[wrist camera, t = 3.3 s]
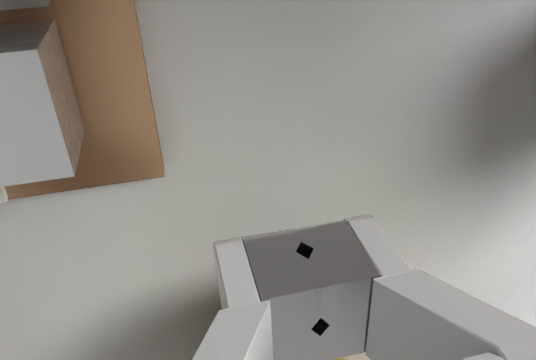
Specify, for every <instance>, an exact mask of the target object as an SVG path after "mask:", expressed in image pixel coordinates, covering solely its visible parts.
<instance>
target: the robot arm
mask: <svg viewBox="0 0 536 360" xmlns="http://www.w3.org/2000/svg"><path fill="white" fill-rule="evenodd" d="M213 249H214V256H215V264H216V272H217V279H218V287H219V294H220V301H221V307H222V310H218V312H217V314H216V316H215V318H214V320H213V321H212V323H211V325H210V327H209V329H208V331H207V333H206V334H205V336H204V338H203V340H202V342H201V344H200V345H199V347H198V349H197V351H196V353H195V355H194V357H193V358H192V360H331V359H336V358H341V357H346V356H351V355H356V354H361V353H365V355H366V356H367V357H369V358H370V359H371V360H536V327H534V326H532V325H530V324H528V323H526V322H524V321H522V320H520V319H518V318H516V317H514V316H512V315H510V314H508V313H506V312H504V311H502V310H500V309H498V308H496V307H494V306H492V305H489V304H487V303H485V302H483V301H481V300H479V299H477V298H475V297H473V296H471V295H469V294H467V293H465V292H463V291H461V290H459V289H457V288H455V287H453V286H451V285H449V284H447V283H445V282H443V281H441V280H439V279H437V278H435V277H433V276H431V275H429V274H427V273H425V272H423V271H421V270H414V271H411V270H410V269H409V267H408V266H407V264H406V263H405V261H404V260H403V259H402V257H401V256H400V254H399V253H398V251H397V250H396V248H395V247H394V246H393V244H392V243H391V241H390V240H389V238H388V237H387V235H386V234H385V233H384V231H383V230H382V228H381V227H380V225H379V224H378V223H377V221H376V220H375V218H374V217H373V216H371V215H369V214H367V215H362V216H357V217H352V218H347V219H344V220H340V221H335V222H329V223H324V224H319V225H313V226H308V227H303V228H297V229H291V230H285V231H278V232H272V233H266V234H259V235H253V236H246V237H241V239H240V238H236V239H230V240H224V241H218V242H213Z"/></svg>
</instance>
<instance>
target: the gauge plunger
mask: <svg viewBox="0 0 536 360" xmlns="http://www.w3.org/2000/svg"><path fill="white" fill-rule="evenodd" d="M84 131H85V130H84V126H83V122H82V118H81V115H80V111H79V107H78V104H77V100H76V96H75V92H74V89H73V85H72V81H71V77H70V74H69V70H68V66H67V62H66V59H65V55H64V51H63V48H62V44H61V40H60V36H59V33H58V29H57V25H56V21H55V19H45V20H34V21H23V22H12V23H2V24H0V187H4V186H11V185H18V184H25V183H32V182H39V181H46V180H53V179H61V178H68V177H75V173H76V168H77V163H78V159H79V154H80V150H81V145H82V140H83V136H84Z"/></svg>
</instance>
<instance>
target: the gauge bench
mask: <svg viewBox="0 0 536 360" xmlns="http://www.w3.org/2000/svg"><path fill="white" fill-rule="evenodd" d="M45 19H55V21H56V25H57V29H58V33H59V36H60V40H61V44H62V48H63V51H64V55H65V59H66V62H67V66H68V70H69V74H70V77H71V81H72V85H73V89H74V92H75V96H76V100H77V104H78V107H79V111H80V115H81V118H82V122H83V126H84V130H85V131H84V136H83V140H82V145H81V150H80V154H79V159H78V163H77V168H76V173H75V177H68V178H61V179H53V180H46V181H39V182H32V183H25V184H18V185H11V186H4V187H0V203H6V202H7V200H8V199H14V198H21V197H28V196H35V195H42V194H49V193H56V192H62V191H69V190H76V189H83V188H90V187H97V186H104V185H111V184H117V183H124V182H131V181H138V180H145V179H152V178H159V177H164V165H163V159H162V154H161V148H160V143H159V137H158V132H157V126H156V120H155V115H154V109H153V104H152V98H151V93H150V87H149V81H148V76H147V70H146V65H145V59H144V54H143V48H142V42H141V37H140V31H139V26H138V20H137V15H136V9H135V4H134V0H0V24H2V23H12V22H23V21H34V20H45Z"/></svg>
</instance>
